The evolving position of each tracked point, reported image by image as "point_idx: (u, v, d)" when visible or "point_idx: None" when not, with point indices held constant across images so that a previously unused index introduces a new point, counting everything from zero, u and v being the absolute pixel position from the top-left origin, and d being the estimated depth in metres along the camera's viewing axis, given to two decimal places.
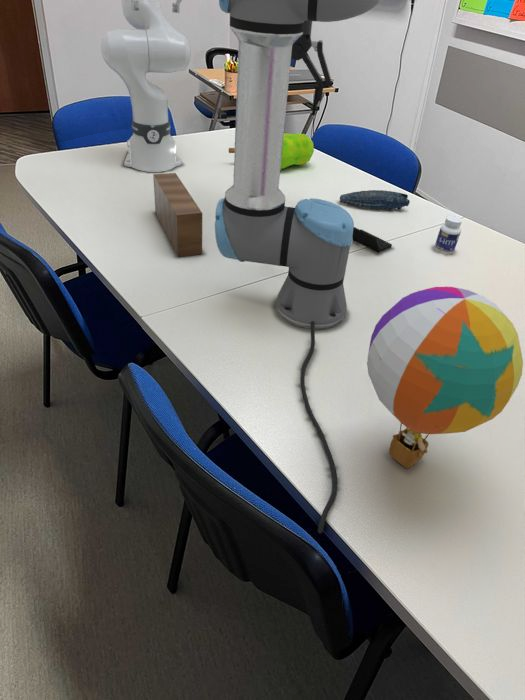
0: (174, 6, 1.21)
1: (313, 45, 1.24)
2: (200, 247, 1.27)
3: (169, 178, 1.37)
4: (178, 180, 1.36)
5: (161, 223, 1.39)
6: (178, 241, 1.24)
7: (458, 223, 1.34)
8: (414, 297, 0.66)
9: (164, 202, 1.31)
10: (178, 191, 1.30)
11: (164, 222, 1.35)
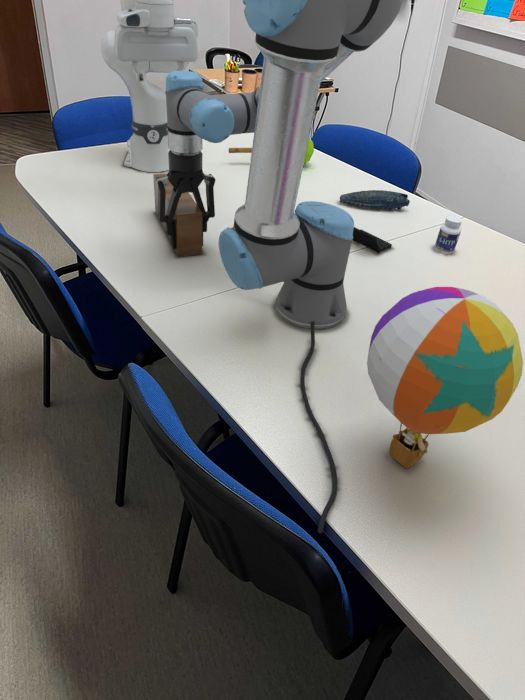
0: None
1: (205, 178, 1.20)
2: (200, 247, 1.27)
3: None
4: None
5: (161, 223, 1.39)
6: (178, 241, 1.24)
7: (458, 223, 1.34)
8: (414, 297, 0.66)
9: None
10: None
11: (164, 222, 1.35)
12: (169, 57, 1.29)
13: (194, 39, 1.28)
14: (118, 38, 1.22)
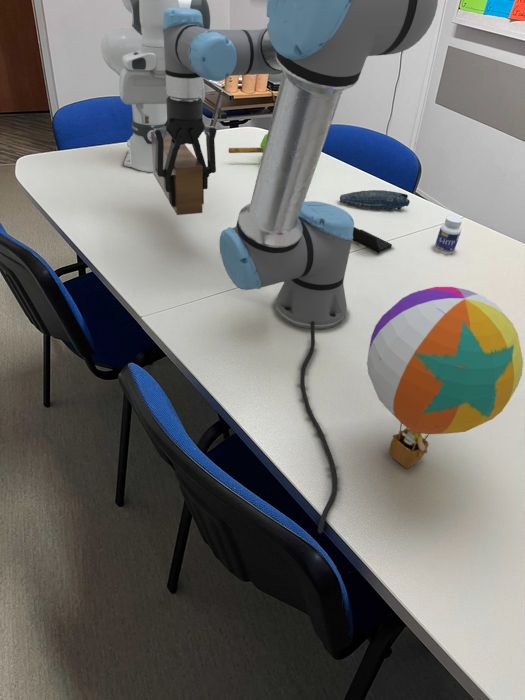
0: None
1: (205, 129, 1.13)
2: (200, 205, 1.21)
3: (168, 135, 1.30)
4: None
5: (159, 184, 1.33)
6: (177, 197, 1.17)
7: (458, 223, 1.34)
8: (414, 297, 0.66)
9: None
10: None
11: (162, 181, 1.28)
12: None
13: None
14: (123, 81, 1.18)
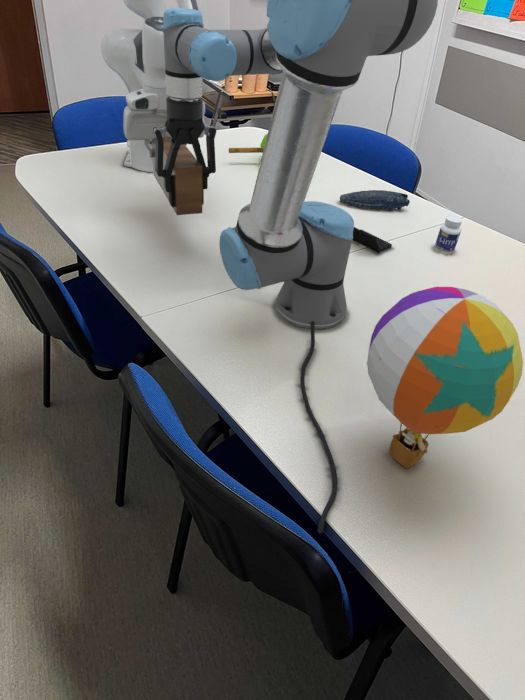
0: None
1: (205, 129, 1.13)
2: (200, 205, 1.21)
3: None
4: None
5: (159, 184, 1.33)
6: (177, 198, 1.17)
7: (458, 223, 1.34)
8: (414, 297, 0.66)
9: None
10: None
11: (162, 181, 1.28)
12: None
13: None
14: (127, 120, 1.23)
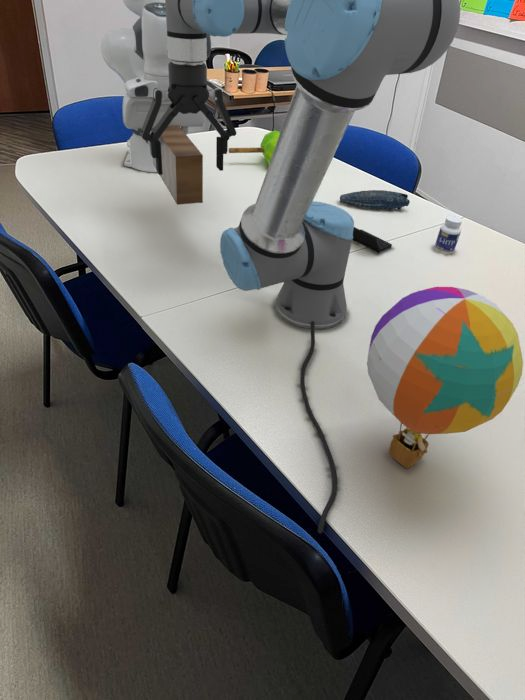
0: None
1: (211, 94, 1.06)
2: (200, 194, 1.19)
3: None
4: (177, 126, 1.28)
5: None
6: (177, 187, 1.16)
7: (458, 223, 1.34)
8: (414, 297, 0.66)
9: (162, 148, 1.22)
10: (176, 136, 1.22)
11: (162, 171, 1.27)
12: (177, 123, 1.28)
13: None
14: (126, 108, 1.21)
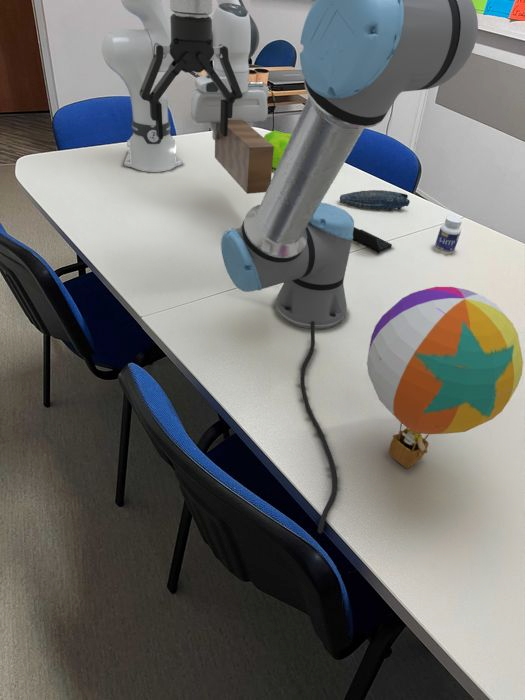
0: None
1: (216, 52, 0.99)
2: None
3: None
4: (241, 121, 1.35)
5: (223, 165, 1.38)
6: (248, 176, 1.23)
7: (458, 223, 1.34)
8: (414, 297, 0.66)
9: (230, 140, 1.29)
10: (244, 129, 1.29)
11: (228, 163, 1.34)
12: (241, 118, 1.35)
13: (265, 101, 1.35)
14: (197, 103, 1.28)
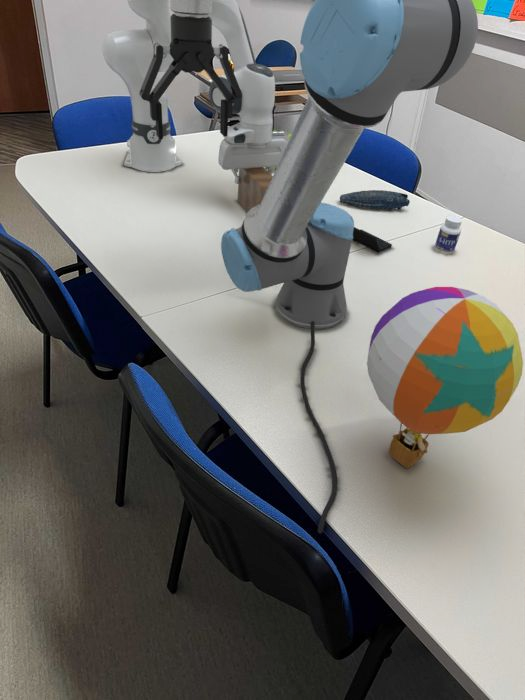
0: None
1: (216, 52, 0.99)
2: None
3: (255, 168, 1.48)
4: (264, 170, 1.47)
5: (246, 210, 1.50)
6: None
7: (458, 223, 1.34)
8: (414, 297, 0.66)
9: (255, 190, 1.41)
10: (267, 179, 1.41)
11: None
12: (264, 164, 1.46)
13: None
14: (225, 152, 1.39)
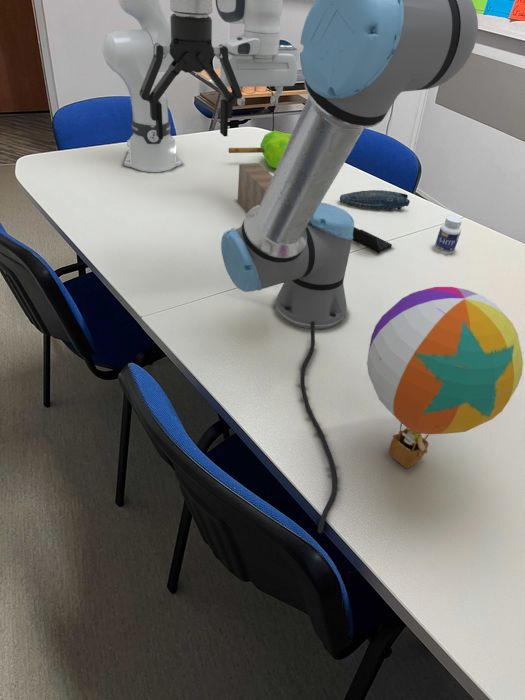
0: (274, 99, 1.37)
1: (216, 52, 0.99)
2: None
3: (255, 168, 1.48)
4: (264, 170, 1.47)
5: (246, 210, 1.50)
6: None
7: (458, 223, 1.34)
8: (414, 297, 0.66)
9: (255, 190, 1.41)
10: (267, 179, 1.41)
11: None
12: (271, 82, 1.33)
13: (295, 65, 1.33)
14: None
